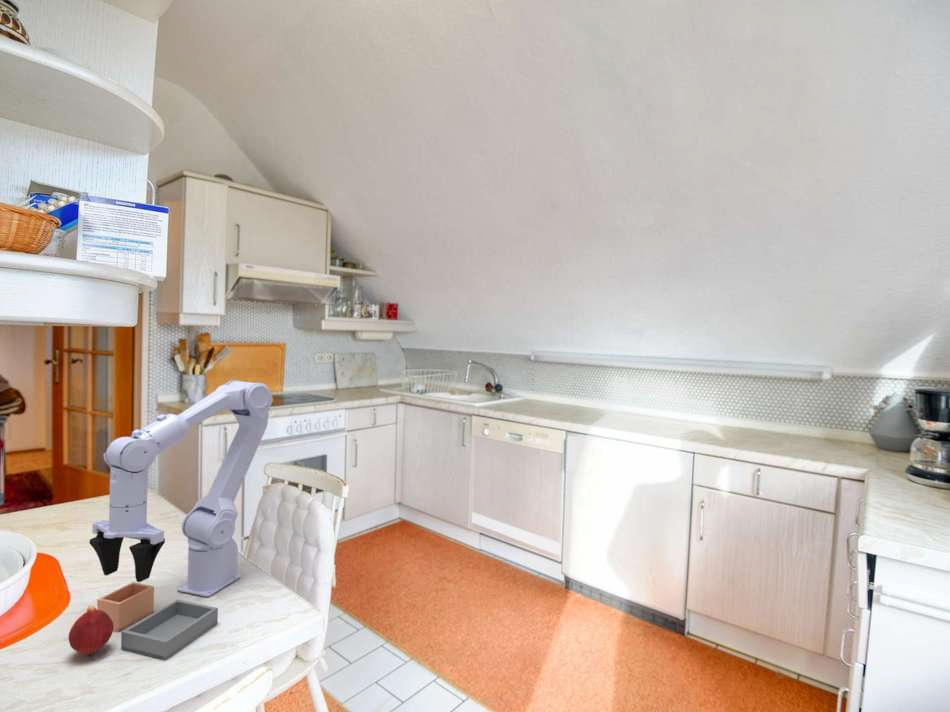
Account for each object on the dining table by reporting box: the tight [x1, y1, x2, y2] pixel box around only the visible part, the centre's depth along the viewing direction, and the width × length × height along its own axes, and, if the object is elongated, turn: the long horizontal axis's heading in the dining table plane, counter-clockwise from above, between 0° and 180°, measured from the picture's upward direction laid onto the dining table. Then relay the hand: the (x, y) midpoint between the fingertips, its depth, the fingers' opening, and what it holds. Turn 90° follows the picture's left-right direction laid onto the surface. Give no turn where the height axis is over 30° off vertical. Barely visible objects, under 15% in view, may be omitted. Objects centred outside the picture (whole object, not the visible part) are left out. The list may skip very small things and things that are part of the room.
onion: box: [67, 605, 114, 656], centre depth 82 cm, size 6×6×8 cm
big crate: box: [120, 599, 219, 661], centre depth 88 cm, size 11×9×3 cm
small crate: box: [96, 581, 155, 633], centre depth 93 cm, size 7×5×5 cm
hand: (126, 576), depth 92 cm, fingers open, 7 cm apart
